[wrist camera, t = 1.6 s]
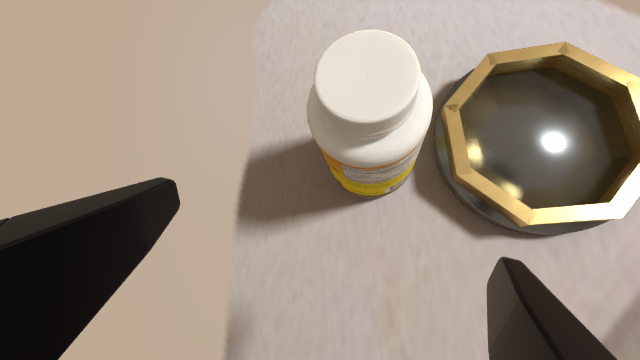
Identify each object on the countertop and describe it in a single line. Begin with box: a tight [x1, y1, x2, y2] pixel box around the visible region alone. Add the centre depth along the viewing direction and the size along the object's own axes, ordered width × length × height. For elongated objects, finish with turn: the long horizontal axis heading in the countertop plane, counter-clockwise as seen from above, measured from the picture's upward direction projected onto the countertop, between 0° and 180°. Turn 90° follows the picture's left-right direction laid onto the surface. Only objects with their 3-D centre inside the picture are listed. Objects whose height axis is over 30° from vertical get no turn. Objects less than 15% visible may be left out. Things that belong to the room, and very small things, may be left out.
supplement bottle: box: [307, 30, 433, 198], centre depth 16 cm, size 6×6×10 cm
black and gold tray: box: [434, 42, 640, 235], centre depth 19 cm, size 12×12×2 cm
